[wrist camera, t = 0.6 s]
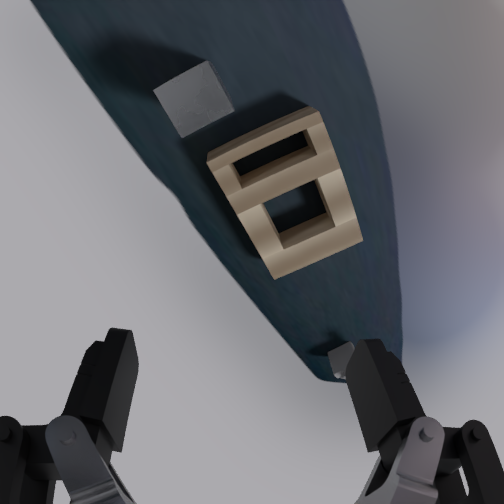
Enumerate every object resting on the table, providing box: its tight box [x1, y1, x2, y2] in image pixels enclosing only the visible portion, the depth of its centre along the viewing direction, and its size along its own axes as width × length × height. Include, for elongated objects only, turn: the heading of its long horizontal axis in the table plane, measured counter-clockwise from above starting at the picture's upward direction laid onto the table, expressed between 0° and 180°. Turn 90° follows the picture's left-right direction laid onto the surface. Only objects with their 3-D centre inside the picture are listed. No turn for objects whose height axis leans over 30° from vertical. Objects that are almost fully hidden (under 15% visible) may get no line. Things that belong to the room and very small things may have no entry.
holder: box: [206, 106, 363, 280], centre depth 28 cm, size 14×10×3 cm
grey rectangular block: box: [153, 61, 234, 138], centre depth 19 cm, size 4×4×9 cm
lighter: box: [327, 341, 355, 379], centre depth 42 cm, size 7×2×8 cm, turn 122°
